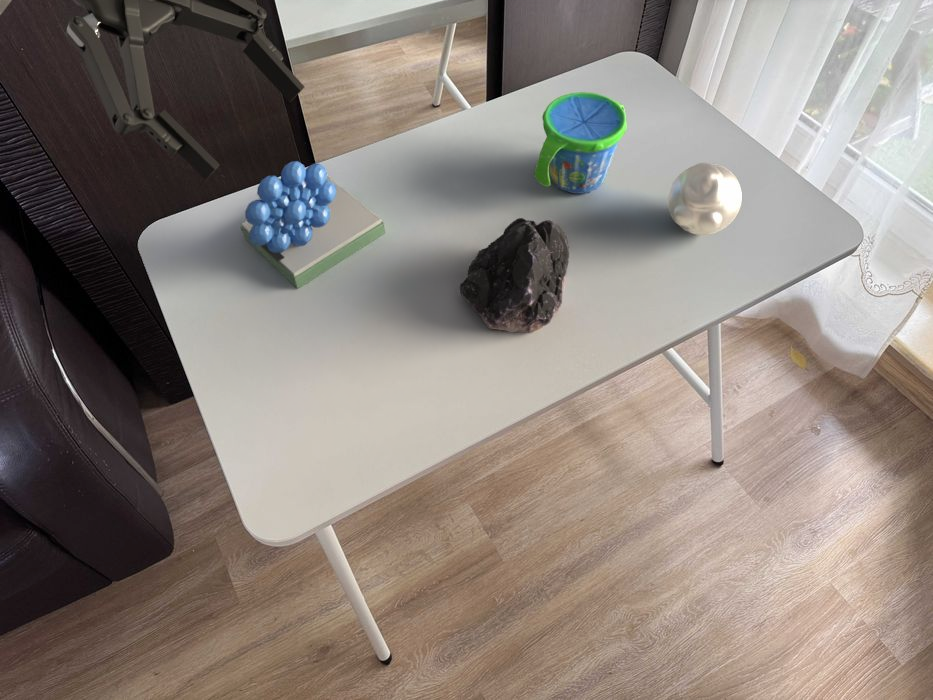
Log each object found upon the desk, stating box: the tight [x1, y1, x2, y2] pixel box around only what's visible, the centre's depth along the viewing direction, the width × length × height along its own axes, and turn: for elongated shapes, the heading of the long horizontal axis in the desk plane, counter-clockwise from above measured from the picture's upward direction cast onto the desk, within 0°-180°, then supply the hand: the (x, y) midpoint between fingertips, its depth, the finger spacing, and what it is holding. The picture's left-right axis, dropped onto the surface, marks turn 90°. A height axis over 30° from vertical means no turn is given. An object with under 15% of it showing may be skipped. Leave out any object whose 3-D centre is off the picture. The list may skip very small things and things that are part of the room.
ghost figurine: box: [667, 162, 743, 236], centre depth 89 cm, size 9×10×10 cm
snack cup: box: [534, 91, 628, 195], centre depth 95 cm, size 16×10×10 cm
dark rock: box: [459, 217, 570, 334], centre depth 84 cm, size 13×14×10 cm
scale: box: [240, 175, 386, 289], centre depth 93 cm, size 14×13×3 cm
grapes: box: [244, 160, 336, 253], centre depth 86 cm, size 12×7×12 cm, turn 122°
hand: (257, 132), depth 71 cm, fingers open, 13 cm apart
